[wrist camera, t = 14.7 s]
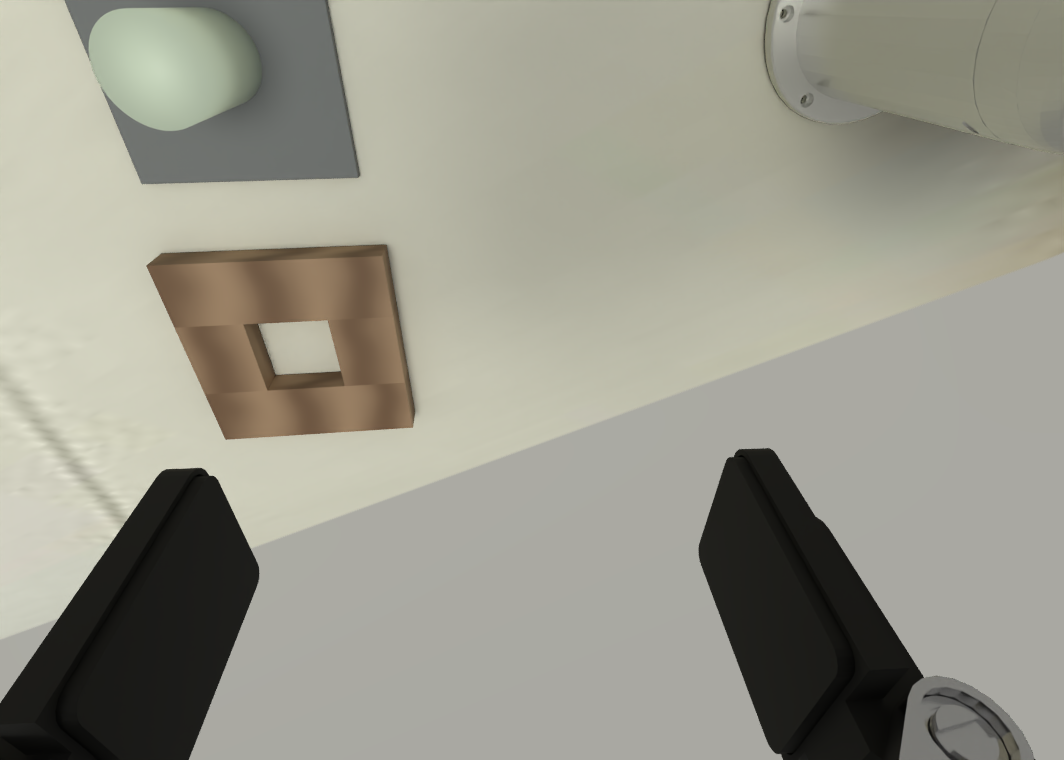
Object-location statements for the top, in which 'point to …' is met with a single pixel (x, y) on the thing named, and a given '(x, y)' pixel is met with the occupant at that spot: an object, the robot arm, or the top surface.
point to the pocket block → (290, 296)
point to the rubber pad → (251, 102)
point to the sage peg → (174, 64)
